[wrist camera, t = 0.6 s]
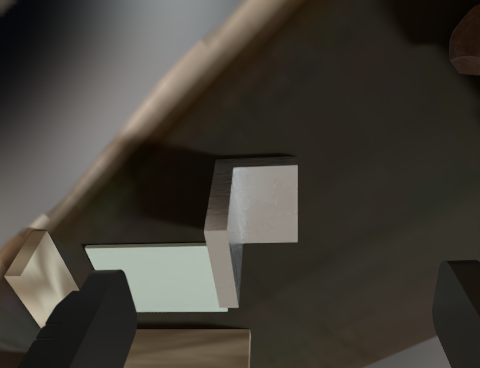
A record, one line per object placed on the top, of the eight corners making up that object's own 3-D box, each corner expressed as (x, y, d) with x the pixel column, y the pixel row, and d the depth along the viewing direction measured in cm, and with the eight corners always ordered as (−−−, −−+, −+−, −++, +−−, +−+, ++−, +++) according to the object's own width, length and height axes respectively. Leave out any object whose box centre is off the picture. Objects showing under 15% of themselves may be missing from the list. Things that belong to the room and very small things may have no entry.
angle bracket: (215, 158, 31) (203, 231, 25) (296, 155, 30) (303, 228, 24) (227, 233, 36) (219, 307, 30) (296, 231, 35) (302, 307, 29)
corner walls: (31, 231, 37) (4, 276, 33) (236, 226, 35) (232, 273, 31) (92, 335, 48) (77, 379, 44) (250, 336, 46) (249, 381, 42)
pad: (86, 245, 38) (84, 248, 37) (215, 242, 36) (215, 245, 36) (116, 308, 44) (115, 312, 44) (227, 308, 43) (227, 311, 42)
